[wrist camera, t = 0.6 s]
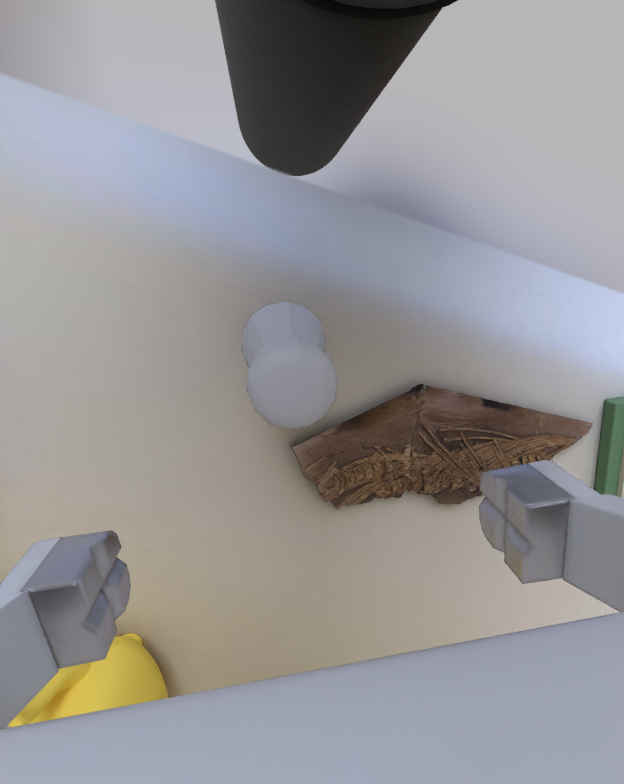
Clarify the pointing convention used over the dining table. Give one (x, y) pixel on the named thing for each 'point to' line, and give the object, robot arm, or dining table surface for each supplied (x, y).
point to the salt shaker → (288, 366)
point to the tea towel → (611, 450)
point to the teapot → (99, 684)
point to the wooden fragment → (429, 447)
